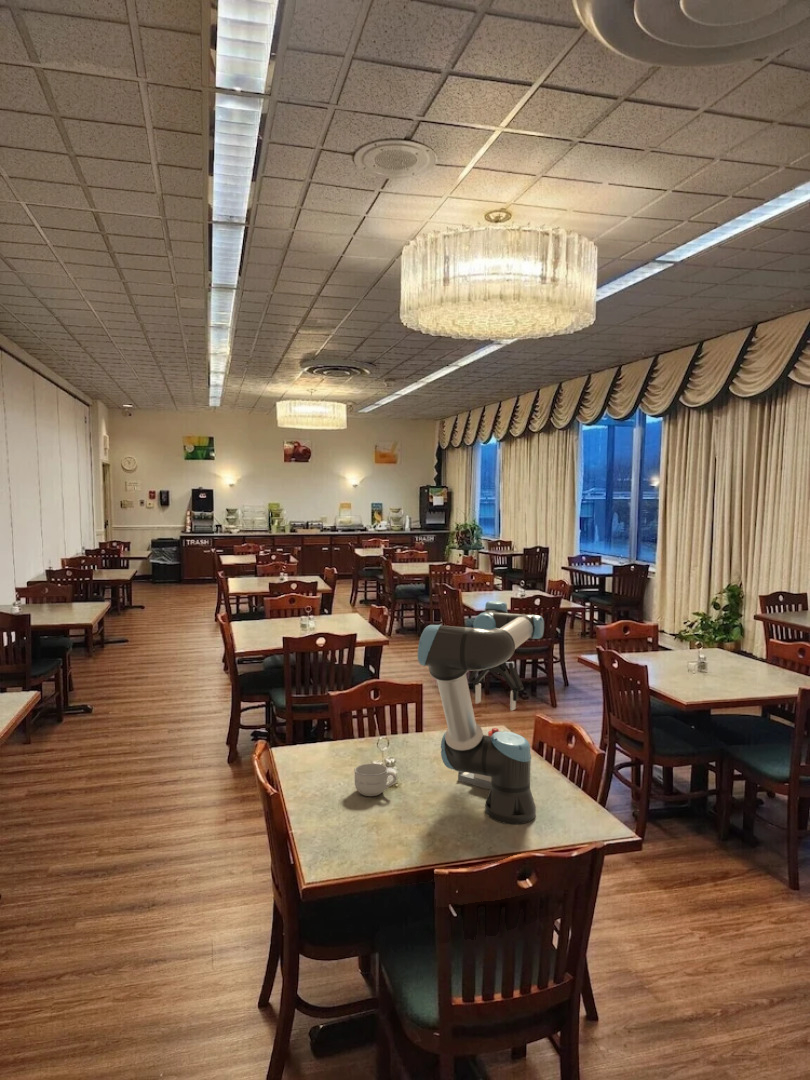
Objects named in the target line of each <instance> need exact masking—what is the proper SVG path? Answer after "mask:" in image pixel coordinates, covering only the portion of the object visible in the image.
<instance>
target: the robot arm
mask: <svg viewBox="0 0 810 1080" xmlns="http://www.w3.org/2000/svg"><path fill="white" fill-rule="evenodd" d="M544 620H545V619H544V618H543V616H541V615H536V614H533V613H532V614H524V613H510V612H508V604H507V603H506V602H505V601H500V600H490V601H487V602H486V603H485V608H484V611H483V612H481V613H479V614H478V615H477V616H476V617H475V619H474V620H473V624H472V625H473V627H467V626H453V625H451V626H450V625H442V624H429V625H427V626H426V627H425V628H424V629H423V631H422V633H421V635H420V638H419V640H418V646H417V661H418V663H419V665H421V666H423V667H428V672H429V675H430V676H431V677H432V678H433V679H434V680H436V682H437V683H436V684H437V687H438V691H439V695H440V699H441V700H440V701H441V704H442V709H443V713H444V718H445V722H446V727H447V729H446V731H444V734H443V735H442V739H441V743H440V749H441V750H440V757H441V759H442V763H443V764H444V766H445V767H446V768H447V769H450V770H453V771H456V772H459V771H462V772H468V773H474V774H480V775H485V776H490V777H491V788H490V789H489V791H488V795H487V797H486V800H485V805H484V806H485V807H484V811H485V812H484V813H485V814H486V816H487V817H489V818H490V819H491V820H493V821H496V822H499V823H502V824H507V825H521V824H526V823H529V822H531V821H533V820H534V819H535V818H536V816H537V815H536V813H537V806H536V803H535V800H534V797H533V794H532V791H531V765H532V762H531V761H532V754H531V744H530V742H529V740H527V738H526V737H524V736H522V735H520V734H519V733H515V732H512V731H506V730H504V731H501V730H499V732H495V733H493V735H492V736H488V735H487V734H486V735H485V734H484V733H483V730H482V727H481V726H480V725H479V724H478V723H477V722H476V717H475V713H474V708H473V703H472V698H471V693H470V688H469V687H470V686H469V683H472V684H473V694H475V697H474V698H475V701H474V702H475V703H474V704H479V703H481V702H482V683H480V682H481V681H482V680H483V679H484V677H486V675H487V674H488V673H489V672H490V673H495V674H500V675H501V676H502V677H503V679H504V680H505V682H506V683H507V684H508V686H509V687H510V689H511V690H510V695H509V696H510V697H509V698H510V699H509V700H510V701H509V702H510V703H509V706H510V708H509V710H510V711H511V712H512V711H514V710H516V707H517V706H516V705H517V701H518V700H519V692H520V691H522V690H524V685H523V682H522V680H521V678H520V675H519V673H518V670H517V668H516V662H515V661H513V660H512V661H508V660H509V659H511V658H512V657H513V655H514V654H515V650H516V649H518V648H519V647H520V646H521V645H522V644H524V643H525V642H526V641H528V639H532V640H535V639H536V640H537V639H538V640H539V639H542V638H543V636H544V631H545V621H544ZM507 668H508V669H509V670H508V669H507ZM468 671H472V672H471V674H470V676H469V677H468V676H467V673H468ZM479 672H480V673H479ZM509 672H510V673H509ZM477 675H478V676H477ZM467 677H468V678H467Z"/></svg>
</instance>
